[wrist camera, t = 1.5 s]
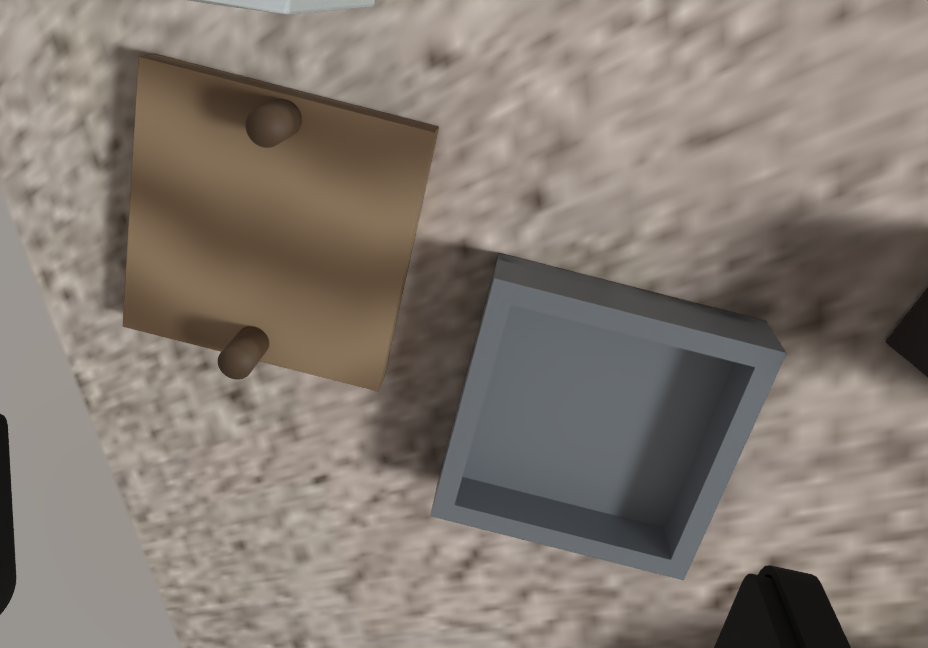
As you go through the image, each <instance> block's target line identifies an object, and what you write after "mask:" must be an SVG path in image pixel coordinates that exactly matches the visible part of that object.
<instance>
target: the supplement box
mask: <svg viewBox="0 0 928 648" xmlns="http://www.w3.org/2000/svg"><path fill="white" fill-rule="evenodd" d="M189 1H195V2H202V3H209V4H215V5H222V6H230V7H237V8H245V9H252V10H260V11H267V12H274V13H280V14H300V13H311V12H324V11H333V10H342V9H354V8H363V7H373V5H374V3H375V0H189Z"/></svg>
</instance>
